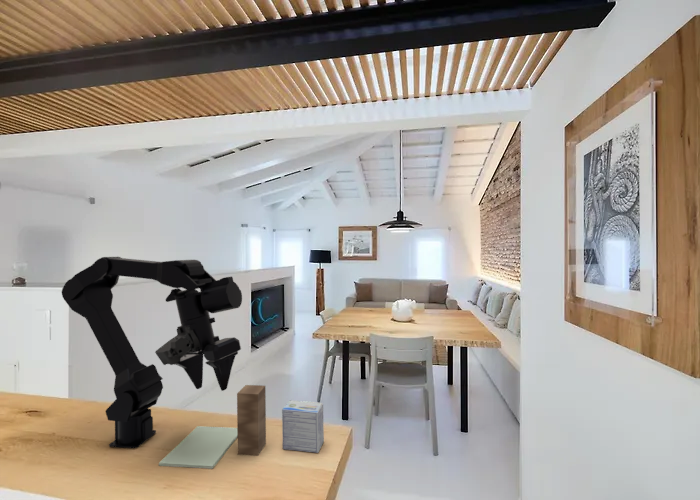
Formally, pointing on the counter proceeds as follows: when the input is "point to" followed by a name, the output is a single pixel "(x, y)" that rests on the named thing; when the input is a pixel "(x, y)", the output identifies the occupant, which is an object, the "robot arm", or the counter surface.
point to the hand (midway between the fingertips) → (211, 389)
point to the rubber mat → (201, 448)
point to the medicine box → (303, 426)
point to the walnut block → (251, 420)
